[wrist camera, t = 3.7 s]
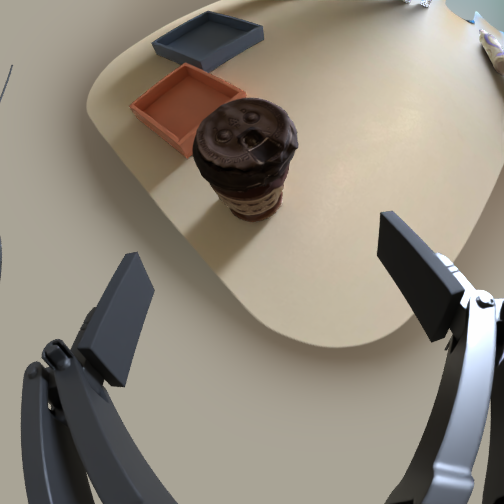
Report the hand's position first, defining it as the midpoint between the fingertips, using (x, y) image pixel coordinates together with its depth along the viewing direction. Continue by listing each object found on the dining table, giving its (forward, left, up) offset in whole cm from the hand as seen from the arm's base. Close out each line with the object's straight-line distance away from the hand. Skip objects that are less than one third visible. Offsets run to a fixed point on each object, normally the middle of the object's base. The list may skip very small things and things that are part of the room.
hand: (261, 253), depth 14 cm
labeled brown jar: (-8, +6, -15) cm, 18 cm away
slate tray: (-37, +24, -15) cm, 46 cm away
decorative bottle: (+8, +93, -15) cm, 95 cm away
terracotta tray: (-25, +10, -15) cm, 31 cm away
